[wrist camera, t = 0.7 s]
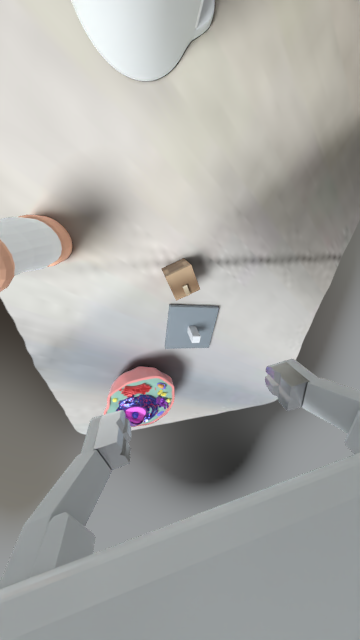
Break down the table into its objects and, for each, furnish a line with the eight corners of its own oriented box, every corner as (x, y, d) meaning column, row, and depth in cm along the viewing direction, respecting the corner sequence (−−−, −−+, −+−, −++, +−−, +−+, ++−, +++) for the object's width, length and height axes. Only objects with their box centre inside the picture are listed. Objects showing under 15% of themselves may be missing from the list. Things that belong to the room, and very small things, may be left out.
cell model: (184, 367, 51) (194, 401, 41) (144, 406, 56) (145, 445, 46) (135, 342, 43) (133, 378, 33) (95, 391, 48) (83, 433, 39)
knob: (161, 268, 35) (165, 278, 29) (183, 258, 35) (192, 265, 29) (171, 289, 38) (176, 301, 32) (191, 279, 38) (201, 290, 32)
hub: (169, 304, 39) (173, 315, 35) (217, 306, 42) (227, 317, 37) (164, 345, 45) (167, 360, 40) (207, 344, 48) (214, 358, 43)
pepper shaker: (29, 204, 26) (-151, 177, 10) (79, 234, 29) (3, 250, 13) (17, 246, 29) (-146, 280, 12) (64, 270, 32) (-16, 321, 15)
